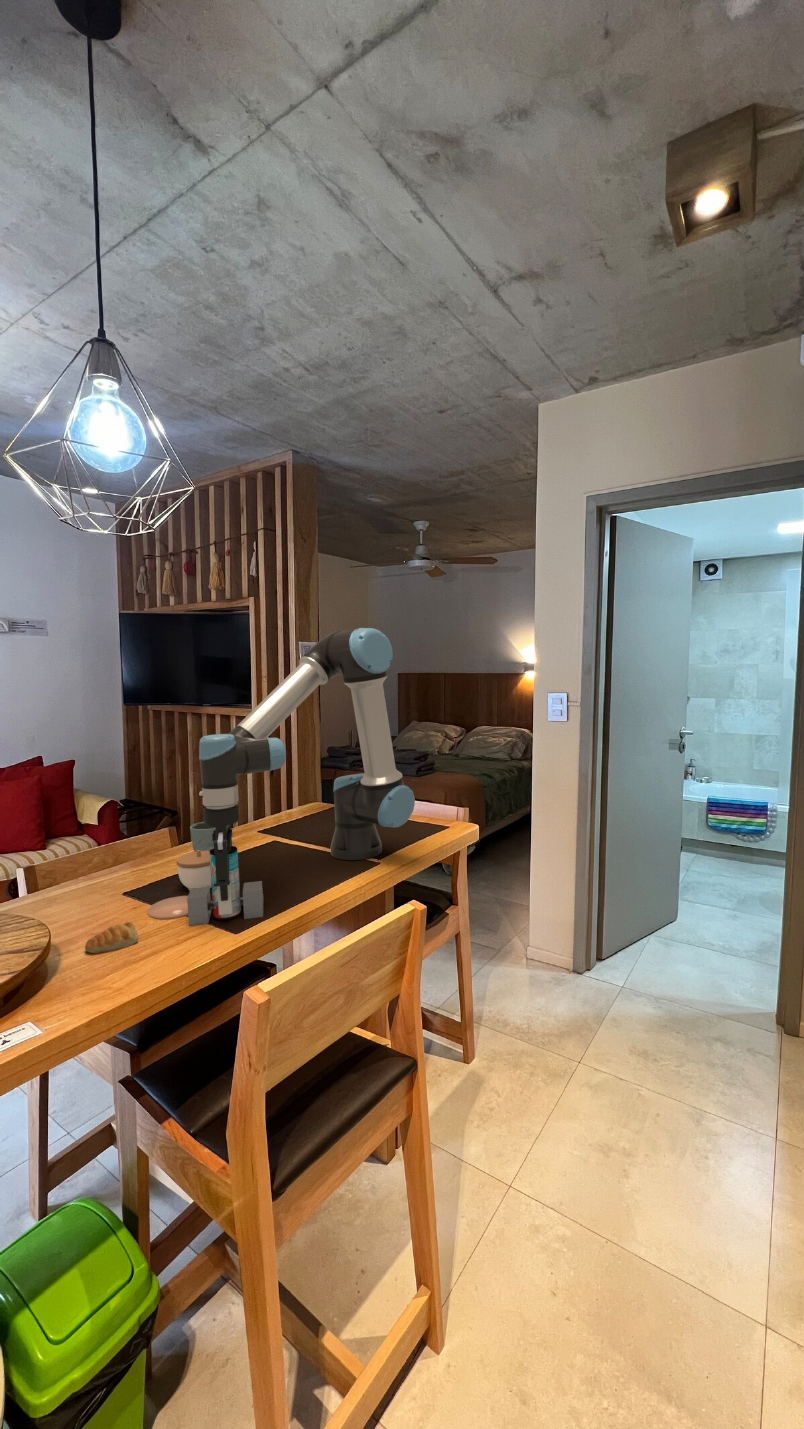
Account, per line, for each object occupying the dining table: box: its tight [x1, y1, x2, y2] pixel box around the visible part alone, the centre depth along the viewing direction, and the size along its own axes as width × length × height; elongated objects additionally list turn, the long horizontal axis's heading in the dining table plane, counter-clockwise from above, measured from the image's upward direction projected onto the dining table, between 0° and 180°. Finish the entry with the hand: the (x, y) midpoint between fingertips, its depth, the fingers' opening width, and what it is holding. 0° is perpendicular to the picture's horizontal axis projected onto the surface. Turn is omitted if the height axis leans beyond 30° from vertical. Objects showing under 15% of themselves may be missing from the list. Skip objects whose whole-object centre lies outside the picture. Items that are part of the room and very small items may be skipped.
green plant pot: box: [189, 821, 216, 852], centre depth 165 cm, size 10×10×12 cm
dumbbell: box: [187, 880, 264, 926], centre depth 132 cm, size 16×9×6 cm, turn 102°
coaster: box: [147, 895, 188, 920], centre depth 136 cm, size 12×12×1 cm
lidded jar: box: [176, 850, 212, 891], centre depth 149 cm, size 11×11×9 cm
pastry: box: [84, 921, 139, 954], centre depth 118 cm, size 9×7×4 cm
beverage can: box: [210, 845, 242, 921], centre depth 130 cm, size 6×6×15 cm
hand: (226, 907), depth 130 cm, fingers closed on beverage can, 6 cm apart
